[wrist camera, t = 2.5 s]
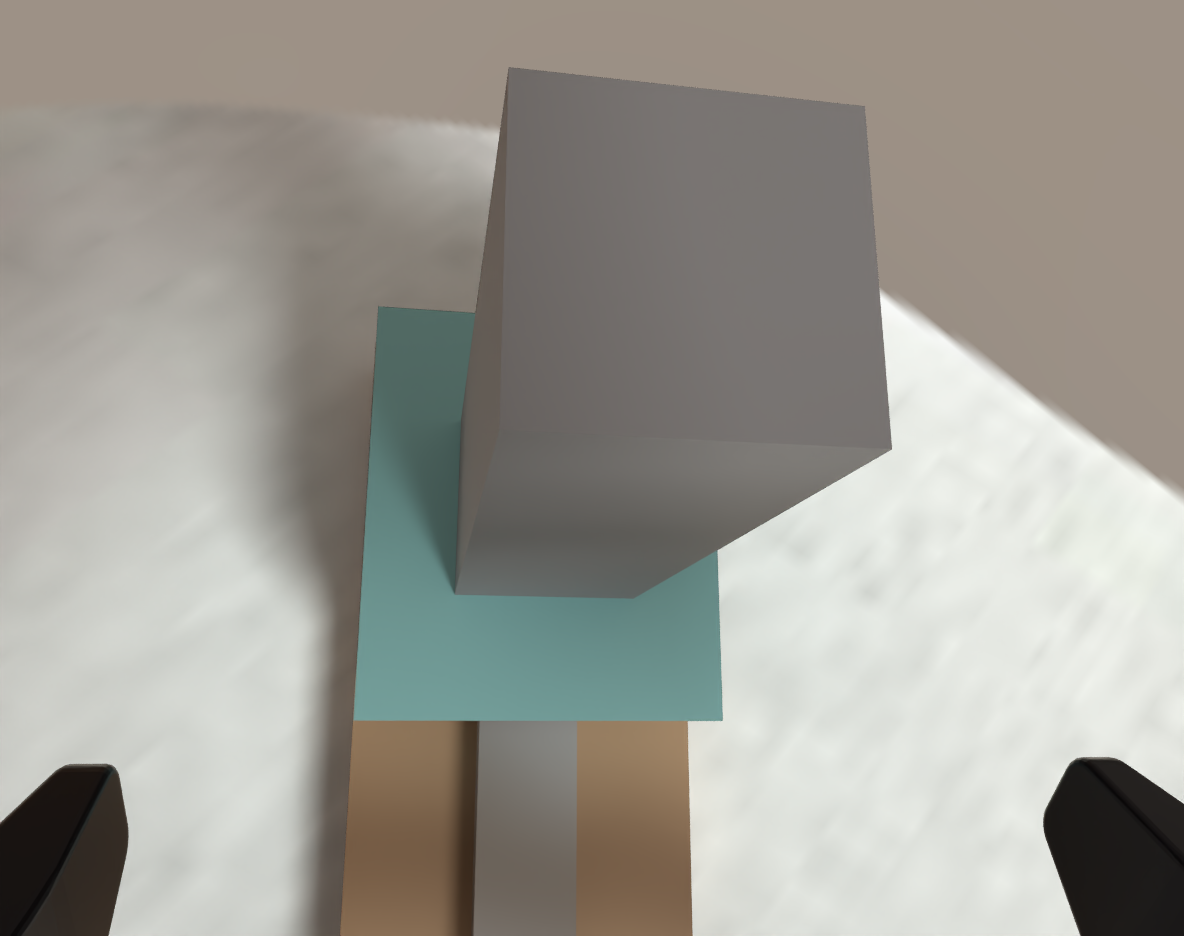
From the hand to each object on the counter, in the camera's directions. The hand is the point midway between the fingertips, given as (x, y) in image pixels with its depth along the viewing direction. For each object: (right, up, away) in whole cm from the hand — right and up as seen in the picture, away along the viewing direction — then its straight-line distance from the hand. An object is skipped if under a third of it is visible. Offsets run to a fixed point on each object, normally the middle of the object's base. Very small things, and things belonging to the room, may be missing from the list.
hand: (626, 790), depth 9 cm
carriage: (-1, +2, +9) cm, 10 cm away
